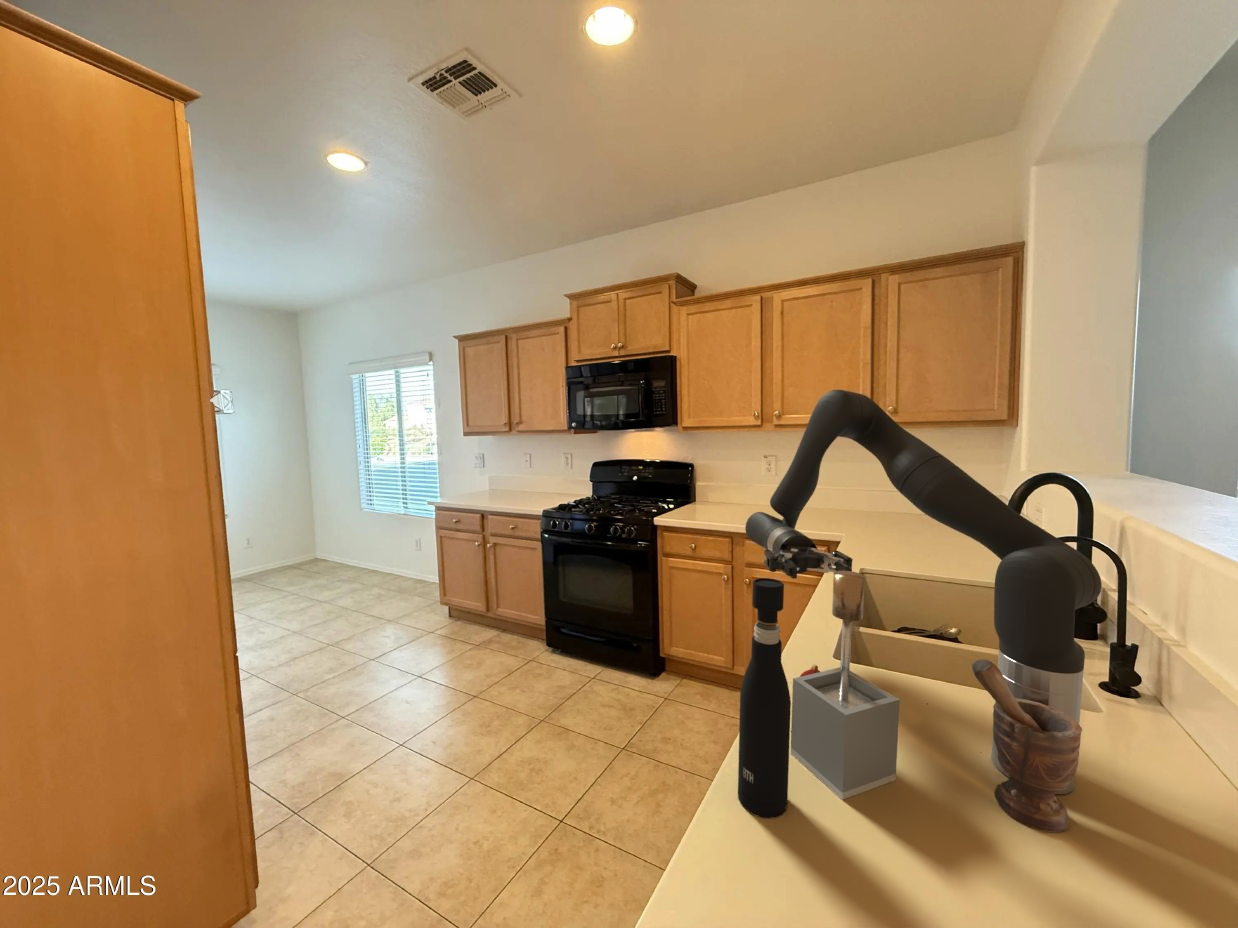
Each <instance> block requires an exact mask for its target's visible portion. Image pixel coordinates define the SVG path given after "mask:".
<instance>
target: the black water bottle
mask: <svg viewBox="0 0 1238 928" xmlns="http://www.w3.org/2000/svg"><path fill="white" fill-rule="evenodd" d="M784 594H785V585H784V582H783V581H781V580H778V579H775V578H769V577H768V578H766V577H759V578H755V579H754V580H753V581H752V599H751V600H752V603H751V604H752V607H753V608H754V609H756V610H757V613H756V614H757V616H756V623H755V624H754V627H753V631H754V632H753V636H752V638H751V653H750V654H751V658H750V660H749V663H748V665H747V668H746V670H745V673H744V675H743V680H742V683H741V686H740V687H741V688H740V693H739V724H738V725H739V726H738V727H739V728H738V729H739V730H738V731H739V734H738V736H739V737H738V770H737V771H738V772H737V774H738V775H737V776H738V777H737V797H738V801H739V802H740V804H741V806H742V807H743V808H744V809H745V810H746V811H747V812H749V813H751V814H753V816H754V815H755V816H757V817H760V818H764V819H774V818H778V817H780V816H783V814H785V812H786V811H787V808H788V801H789V800H788V799H789V798H788V797H789V794H788V793H789V770H790V768H789V765H790V741H791V731H790V730H791V728H790V727H791V710H792V700H791V695H790V688H789V683H788V679H787V677H786V673H785V670H784V667H783V663H782V648H783V647H782V646H783V645H782V644H783V643H782V640H781V639H780V638H781V635H780V633H781V630H780V626H779V625H778V622H779V620H778V613H779V612H781V611H782V610H784V601H785V600H784V597H785V596H784Z"/></svg>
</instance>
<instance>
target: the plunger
mask: <svg viewBox="0 0 1238 928" xmlns="http://www.w3.org/2000/svg"><path fill="white" fill-rule="evenodd" d="M832 579H833V581H832V582H833V584H832V585H833V586H832V608H831V614H832V616H834V617H835V618H837V619H839V620H841V622H842V624H841V645H840V646H841V647H840V651H841V652H840V667H841V669H840V683H838V684H834V685H830V686H826V687H822V688H818V689H816V690H818V691H819V692H821V693H822V694H824V695H825V696H827V697H828V698H830V699H831V700H832V701H834V702H835V703H837V704H838V705H840V706H841V707H843V708H844V709H848V708H852V707H855V706H859V705H862V704H866V703H870V702H873V701H872V700H871V699H869V698H868V697H866V696H864V695H863V694H861V693H859V692H858V691H856V690H855V689H853V688H851V687H850V686H849V672H850V671H851V665H850V664H851V648H852V647H851V645H852V644H851V642H852V624H853V623H852V622H860V621H862V620H863V617H864V601H865V600H864V599H865V597H864V596H865V575H864V574H862V573H860V572H857V571H853V570H852V571H836V572H833V578H832Z"/></svg>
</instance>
